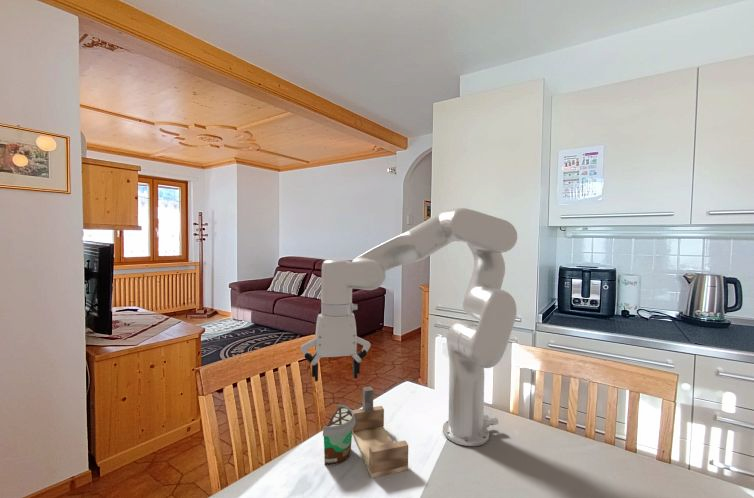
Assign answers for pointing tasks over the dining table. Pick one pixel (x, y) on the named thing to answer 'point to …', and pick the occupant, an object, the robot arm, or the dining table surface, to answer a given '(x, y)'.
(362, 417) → the block
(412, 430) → the dining table surface
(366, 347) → the robot arm
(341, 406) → the food container
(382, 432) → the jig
